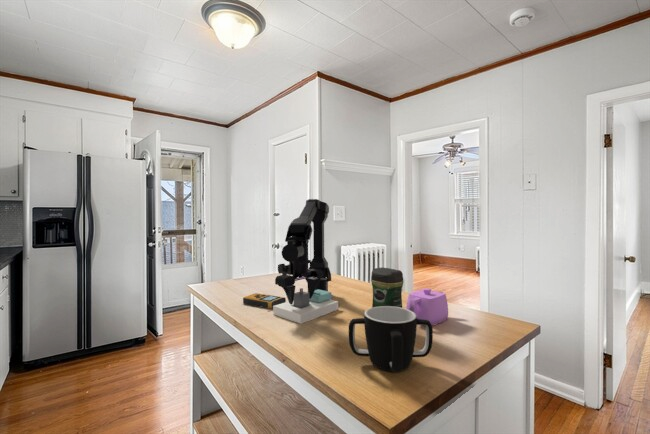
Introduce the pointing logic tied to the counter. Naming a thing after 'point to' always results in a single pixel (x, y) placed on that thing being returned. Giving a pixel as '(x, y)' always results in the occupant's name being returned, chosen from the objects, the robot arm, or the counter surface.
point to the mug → (390, 337)
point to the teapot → (428, 305)
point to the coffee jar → (387, 287)
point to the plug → (301, 299)
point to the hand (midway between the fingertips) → (300, 301)
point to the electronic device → (263, 300)
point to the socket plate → (304, 310)
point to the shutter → (320, 296)
